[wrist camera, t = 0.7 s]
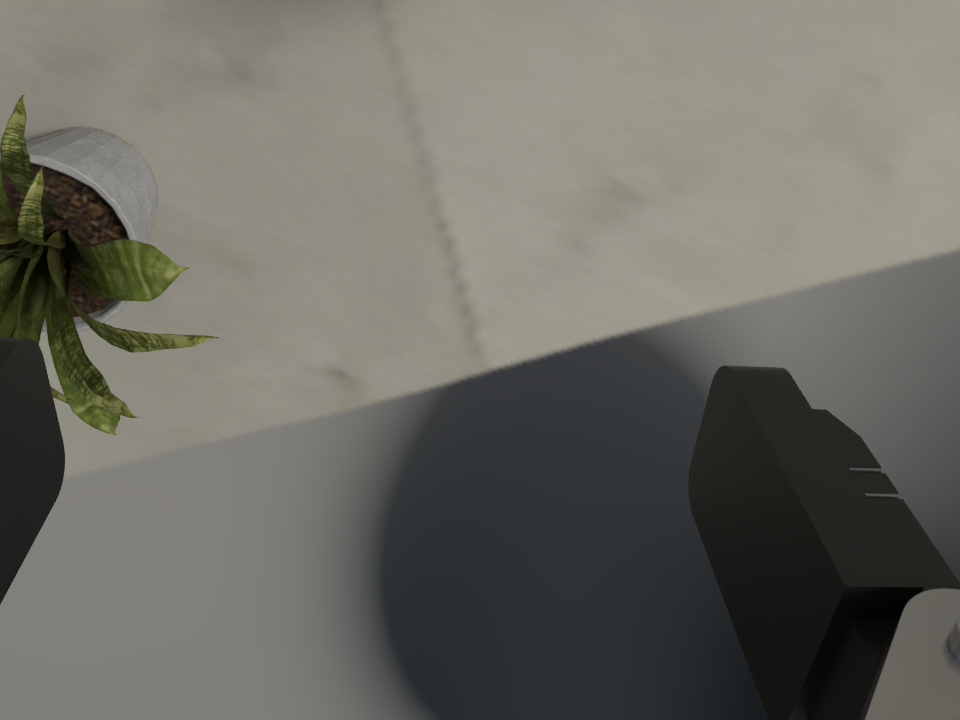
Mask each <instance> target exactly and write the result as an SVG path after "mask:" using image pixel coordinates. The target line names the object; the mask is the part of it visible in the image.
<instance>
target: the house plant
mask: <svg viewBox="0 0 960 720" xmlns="http://www.w3.org/2000/svg"><path fill="white" fill-rule="evenodd" d="M23 96H24V95H23ZM23 96H22V97H21V98H20V99H19V101H18V102H17V105H16V107H15V109H14V111H13V113H12V115H11V117H10V118H9V121H8V123H7V126H6V129H5V132H4V135H3V137H2V143H1V151H0V337H4V338H29V339H32V340H34V341H35V342H36V343H37V344H38V346H39V340H40V335H41V331H46V332H47V333H48V342H49V347H50V350H51V354H52V358H53V362H54V366H55V369H56V372H57V375H58V378H59V381H60V384H61V387H62V389H63V392H64V395H63V394H62V393H60V392H58V391H57V390H55V389H54V388H52V387H50V388H51V392H52V396H53V397H54V398H56V399H58V400H60V401H63V402H65V403H68V404H69V405H70V407H71V409H72V411H73V412H74V413H75V414H76V415H77V416H78V417H79V418H80V419H81V420H82V421H84V422H85V423H87V424H89V425H90V426H92V427H94V428H95V429H98V430H100V431H103V432H106V433H108V434H113V435H116V433H115V430H116V428H117V425H118V422H119V420H120V416H119V415H123V416H126V417H130V418H139V417H135V416H134V415H133V414H132V413H131V411H130V410H129V408H128V407H127V405H126V404H125V403H124V402H123V401H121V400H120V399H118V398H117V397H116V396H114V395H113V394H112V393H111V391H110V389H109V387H108V385H107V383H106V381H105V379H104V377H103V375H102V374H101V373H100V372H99V371H98V370H97V368H96V367H95V366H94V365H93V364H92V363H91V362H90V360H89V359H88V357H87V355H86V354H85V351H84V349H83V346H82V343H81V341H80V338H79V335H78V333H77V331H83V330H86V329H89V328H91V329H92V330H93V331H94V332H95V333H96V334H98V335H99V336H100V337H102V338H103V339H104V340H106V341H107V342H108V343H110V344H111V345H114V346H116V347H119V348H121V349H124V350H126V351H129V352H149V351H155V350H161V349H174V348H183V347H190V346H195V345H197V344H200V343H202V342H204V341H207V340H209V339H212V338H218V337H213V336H199V335H175V334H151V333H143V332H135V331H130V330H125V329H120V328H114V327H112V326H109V325H106V324H104V323H105V322H107V321H108V320H109V319H111V318H112V317H113V316H115V315H116V314H117V313H119V312H120V311H121V310H122V309H123V308H124V307H125V305H126V304H127V302H128V301H151V300H153V299H155V298H156V297H158V296H160V295H161V294H162V293H163V292H164V291H165V290H166V288H167V287H168V286H169V285H170V284H171V283H172V282H173V281H174V280H175V279H176V278H177V277H178V275H179V274H180V273H182V272H183V271H185V270H187V269H188V268H186V267H182V266H178V265H177V264H175V263H174V262H173V261H172V260H170V259H169V258H168V257H167V256H165V255H164V254H163V253H162V252H160V251H159V250H158V249H157V248H155V247H154V246H152V245H149V244H147V243H148V239H149V235H150V231H151V227H152V223H153V219H154V215H155V211H156V207H157V187H156V184H155V180H154V177H153V174H152V172H151V170H150V169H149V167H148V165H147V164H146V162H145V160H144V159H143V158H142V157H141V156H140V155H139V153H138V152H137V151H136V150H135V149H134V148H133V147H132V146H131V145H129V144H128V143H126V142H125V141H123V140H122V139H120V138H119V137H117V136H115V135H113V134H110V133H108V132H105V131H102V130H100V129H94V128H87V127H76V128H66V129H63V130H60V131H57V132H54V133H52V134H49V135H46V136H43V137H40V138H37V139H34V140H31V141H28V142H25V138H24V132H25V124H26V112H25V107H24V103H23Z"/></svg>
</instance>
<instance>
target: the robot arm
mask: <svg viewBox="0 0 960 720" xmlns="http://www.w3.org/2000/svg"><path fill="white" fill-rule="evenodd" d="M64 469H65V451H64V444H63V439H62V435H61V431H60V426H59V422H58V418H57V413H56V409H55V405H54V401H53V396H52V392H51V388H50V383H49V379H48V375H47V370H46V366H45V362H44V358H43V354H42V352H41V349H40V347H39V346H38V344H37V343H36V342H35V341H34V340H32V339H29V338H4V337H0V604H1V602H2V600H3V598H4V596H5V595H6V593H7V591H8V589H9V587H10V585H11V583H12V581H13V580H14V578H15V576H16V574H17V572H18V570H19V568H20V567H21V565H22V563H23V561H24V559H25V557H26V555H27V554H28V552H29V550H30V548H31V546H32V544H33V542H34V540H35V539H36V537H37V535H38V533H39V531H40V529H41V527H42V526H43V524H44V522H45V520H46V518H47V516H48V514H49V513H50V511H51V509H52V507H53V505H54V503H55V501H56V499H57V497H58V495H59V492H60V489H61V485H62V482H63V476H64ZM688 488H689V501H690V507H691V511H692V515H693V518H694V521H695V523H696V526H697V529H698V531H699V534H700V537H701V539H702V542H703V545H704V548H705V550H706V553H707V556H708V559H709V561H710V564H711V567H712V569H713V572H714V575H715V577H716V580H717V583H718V586H719V589H720V591H721V594H722V597H723V600H724V602H725V605H726V608H727V610H728V613H729V616H730V619H731V621H732V624H733V627H734V629H735V632H736V635H737V638H738V640H739V643H740V646H741V649H742V651H743V654H744V657H745V660H746V662H747V665H748V668H749V670H750V673H751V676H752V678H753V681H754V684H755V687H756V689H757V692H758V694H759V698H760V700H761V703H762V706H763V709H764V711H765V714H766V717H767V719H768V720H960V583H959V582H958V580H957V579H956V577H955V576H954V574H953V573H952V571H951V570H950V568H949V567H948V565H947V564H946V563H945V561H944V559H943V558H942V556H941V555H940V553H939V552H938V550H937V549H936V547H935V546H934V545H933V543H932V542H931V540H930V539H929V537H928V536H927V534H926V533H925V531H924V530H923V528H922V527H921V525H920V524H919V522H918V521H917V519H916V518H915V517H914V515H913V514H912V512H911V511H910V509H909V508H908V506H907V505H906V503H905V502H904V500H903V499H898V491H897V490H896V488H895V487H894V486H893V484H892V482H891V481H890V480H889V478H888V477H887V475H886V474H885V473H881V466H880V465H879V463H878V462H877V460H876V459H875V457H874V456H873V454H872V453H871V452H870V450H869V449H868V447H867V446H866V444H865V443H864V441H863V440H862V438H861V437H860V436H859V435H858V434H856V433H855V432H854V431H853V430H851V429H850V428H849V427H847V426H846V425H845V424H844V423H842V422H841V421H840V420H839V419H837V418H836V417H835V416H833V415H832V414H831V413H830V412H828V411H827V410H820V409H819V410H818V409H817V410H816V409H812V408H811V407H810V405H809V403H808V402H807V400H806V399H805V397H804V396H803V394H802V393H801V391H800V389H799V388H798V386H797V384H796V383H795V381H794V380H793V378H792V376H791V375H790V373H789V372H788V371H787V370H786V369H784V368H774V367H747V366H722V367H720V368H719V369H718V370H717V372H716V373H715V375H714V378H713V381H712V384H711V387H710V391H709V395H708V399H707V403H706V406H705V411H704V414H703V418H702V423H701V426H700V429H699V433H698V437H697V441H696V445H695V448H694V452H693V456H692V460H691V464H690V470H689V484H688Z"/></svg>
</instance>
